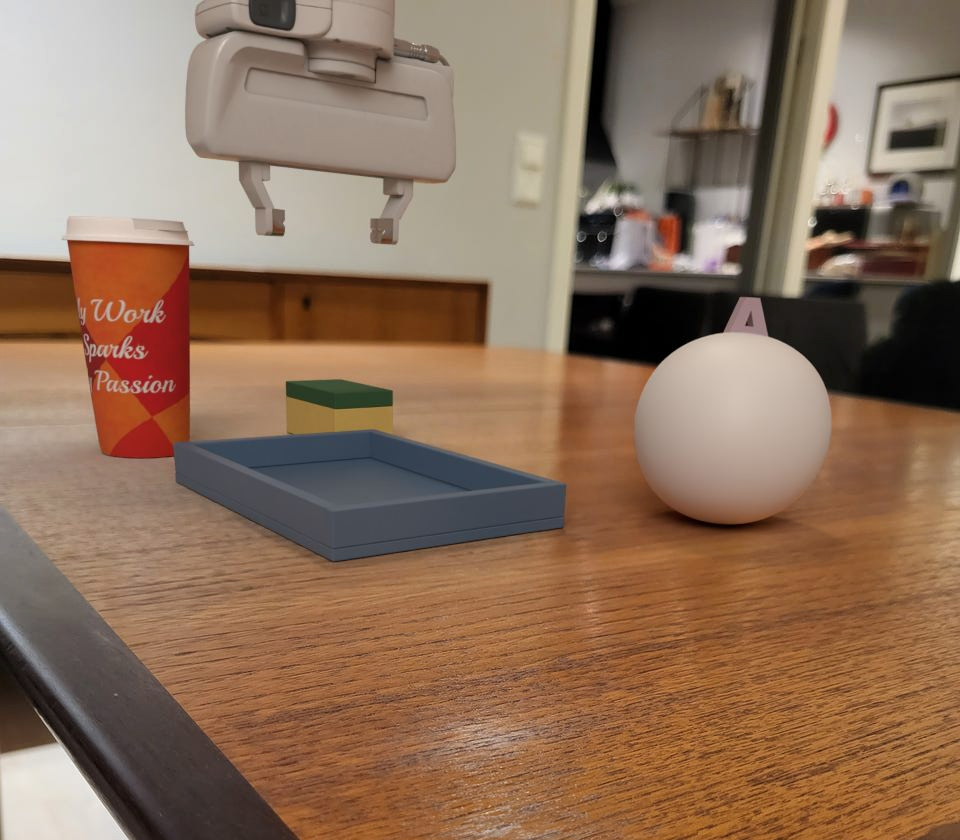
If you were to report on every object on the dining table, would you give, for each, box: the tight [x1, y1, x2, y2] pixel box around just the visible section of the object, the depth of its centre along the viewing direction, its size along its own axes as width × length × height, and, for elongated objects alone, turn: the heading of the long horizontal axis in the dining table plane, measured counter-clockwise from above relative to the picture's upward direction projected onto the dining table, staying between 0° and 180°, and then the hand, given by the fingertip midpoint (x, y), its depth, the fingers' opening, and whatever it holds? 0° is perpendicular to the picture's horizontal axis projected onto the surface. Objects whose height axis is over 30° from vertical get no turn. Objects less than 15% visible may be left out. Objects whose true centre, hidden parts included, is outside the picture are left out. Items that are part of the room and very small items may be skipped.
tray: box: [173, 429, 567, 562], centre depth 57 cm, size 20×14×2 cm
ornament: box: [633, 296, 833, 525], centre depth 55 cm, size 10×10×12 cm
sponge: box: [285, 378, 394, 435], centre depth 78 cm, size 8×5×4 cm, turn 37°
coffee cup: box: [61, 215, 195, 459], centre depth 68 cm, size 8×8×15 cm
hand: (329, 240), depth 74 cm, fingers open, 8 cm apart
